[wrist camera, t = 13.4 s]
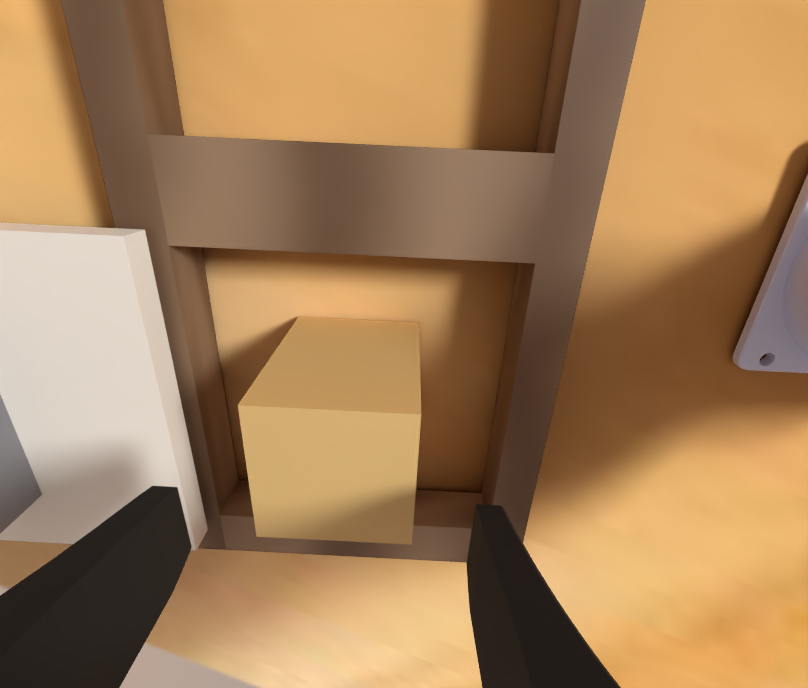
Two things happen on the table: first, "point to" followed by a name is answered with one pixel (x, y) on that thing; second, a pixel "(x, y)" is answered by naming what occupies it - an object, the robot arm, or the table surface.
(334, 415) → the ochre block
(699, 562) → the table surface
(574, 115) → the brown flat frame
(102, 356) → the slide cover
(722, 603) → the table surface
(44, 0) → the table surface
